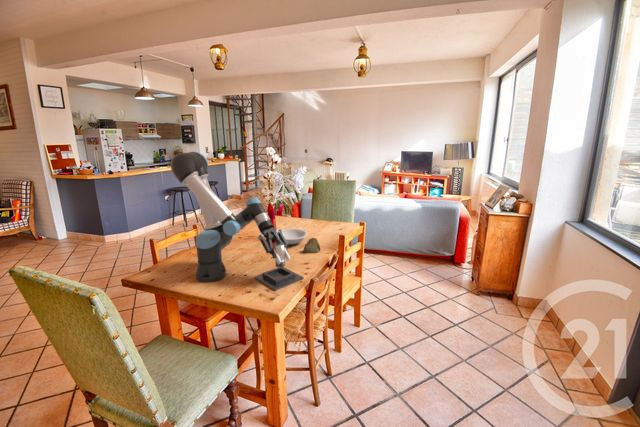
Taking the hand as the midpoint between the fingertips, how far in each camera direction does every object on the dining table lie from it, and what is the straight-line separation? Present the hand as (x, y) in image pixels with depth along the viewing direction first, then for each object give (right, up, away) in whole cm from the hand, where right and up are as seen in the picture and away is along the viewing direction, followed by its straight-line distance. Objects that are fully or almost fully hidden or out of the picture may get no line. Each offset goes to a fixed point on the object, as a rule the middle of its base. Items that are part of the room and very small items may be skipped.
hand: (284, 261), depth 150 cm
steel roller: (-3, -3, +3) cm, 5 cm away
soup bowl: (-3, +3, +58) cm, 58 cm away
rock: (+12, -1, +43) cm, 45 cm away
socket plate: (-3, -10, +5) cm, 12 cm away
